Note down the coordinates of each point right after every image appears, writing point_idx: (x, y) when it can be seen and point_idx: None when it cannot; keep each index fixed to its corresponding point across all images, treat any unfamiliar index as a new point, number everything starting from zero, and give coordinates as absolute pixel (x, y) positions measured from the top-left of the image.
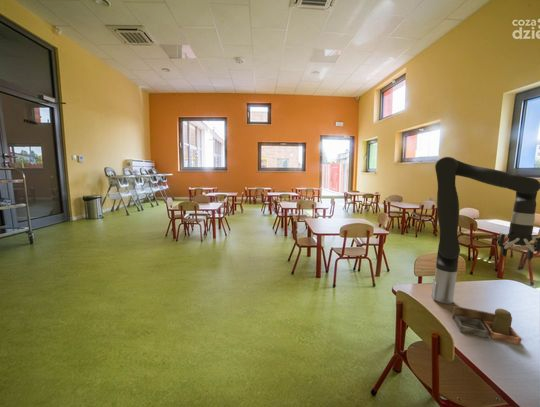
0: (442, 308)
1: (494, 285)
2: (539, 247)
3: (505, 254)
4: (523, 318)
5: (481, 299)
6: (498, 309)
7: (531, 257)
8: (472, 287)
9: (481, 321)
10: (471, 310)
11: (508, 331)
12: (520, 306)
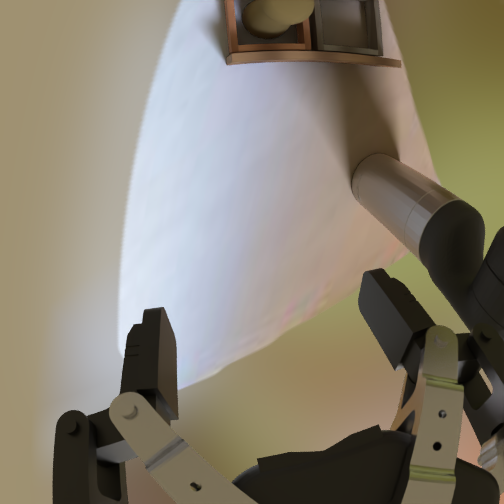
0: (389, 117)
1: (201, 360)
2: (61, 459)
3: (385, 281)
4: (160, 180)
5: (257, 251)
6: (308, 3)
7: (136, 333)
8: (262, 320)
9: (317, 40)
10: (357, 54)
11: (253, 2)
12: (154, 267)
